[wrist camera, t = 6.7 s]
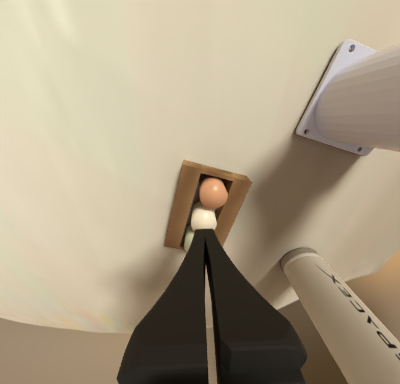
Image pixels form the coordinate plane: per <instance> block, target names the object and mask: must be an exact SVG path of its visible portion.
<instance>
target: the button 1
mask: <svg viewBox="0 0 400 384" xmlns="http://www.w3.org/2000/svg"><path fill="white" fill-rule="evenodd" d="M193 236H194V230H193V229H192V226H191V225H189V226H188V227H187V228H186V232H185V243H184V250H185V251H186V253H187V252H188V250H189V247H190V245H191V242H192V239H193Z"/></svg>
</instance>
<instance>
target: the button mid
mask: <svg viewBox="0 0 400 384" xmlns="http://www.w3.org/2000/svg"><path fill="white" fill-rule="evenodd" d="M191 226H192V229H193V230H194V231H195V230H196V229H210V228H212V229H214V230H215V228H216V226H217V222H216V217H215V212H214V209H210V208H207V207H205V206H204V205H203V204H202V203H201V201H199V202H197V203H196V204H194V206H193V207H192V219H191Z"/></svg>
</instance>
